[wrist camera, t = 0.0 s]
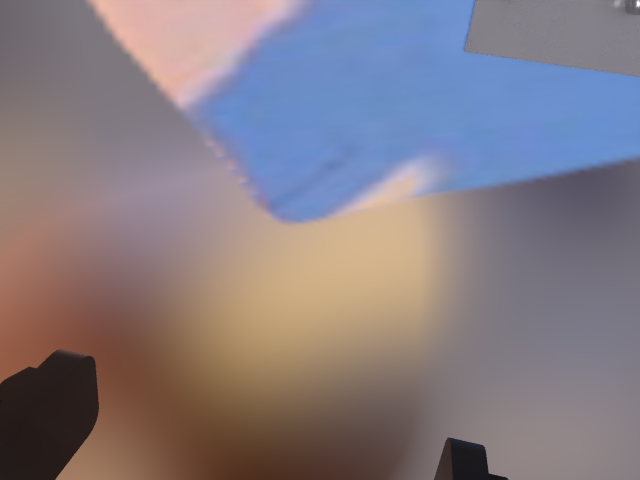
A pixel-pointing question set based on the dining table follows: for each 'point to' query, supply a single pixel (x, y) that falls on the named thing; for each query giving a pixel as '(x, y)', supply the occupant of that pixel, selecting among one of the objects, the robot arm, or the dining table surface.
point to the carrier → (560, 32)
